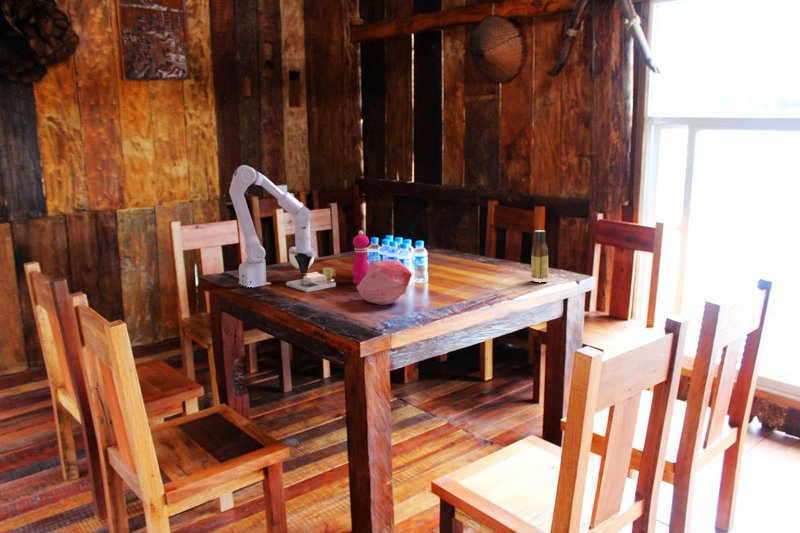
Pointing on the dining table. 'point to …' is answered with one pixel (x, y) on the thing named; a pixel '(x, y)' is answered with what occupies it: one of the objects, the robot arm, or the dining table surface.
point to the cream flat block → (314, 277)
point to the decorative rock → (384, 282)
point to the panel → (310, 285)
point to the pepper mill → (360, 257)
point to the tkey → (329, 273)
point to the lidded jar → (294, 261)
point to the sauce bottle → (539, 256)
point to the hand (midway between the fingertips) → (303, 273)
